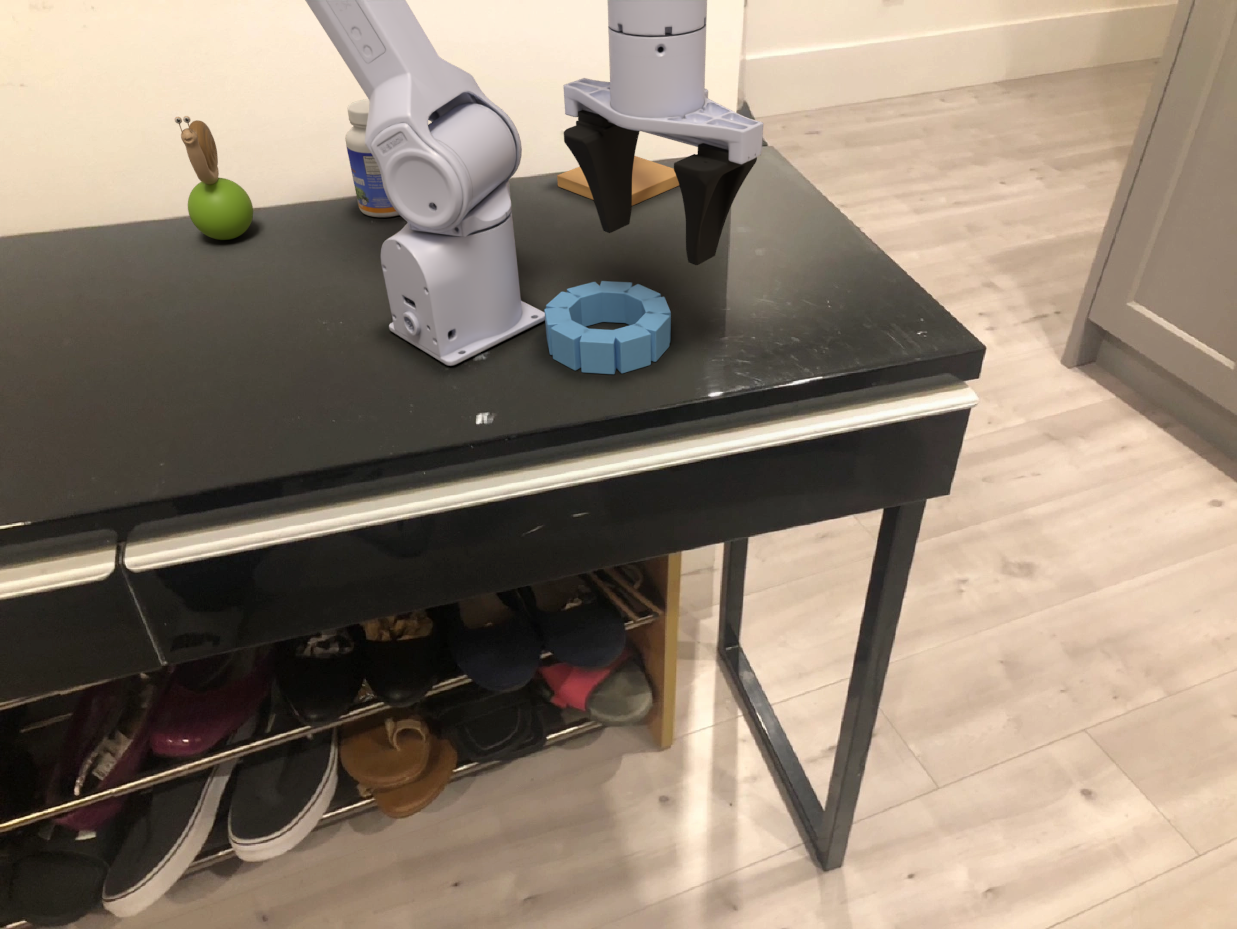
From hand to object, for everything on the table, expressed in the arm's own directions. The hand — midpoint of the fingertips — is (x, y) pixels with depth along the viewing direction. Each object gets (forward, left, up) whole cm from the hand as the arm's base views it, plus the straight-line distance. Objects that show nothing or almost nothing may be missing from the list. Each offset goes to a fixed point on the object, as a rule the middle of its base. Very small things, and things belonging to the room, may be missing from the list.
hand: (657, 242), depth 62 cm
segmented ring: (-1, +4, -9) cm, 9 cm away
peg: (+21, +24, -9) cm, 33 cm away
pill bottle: (+2, +37, -9) cm, 38 cm away
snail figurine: (-12, +42, -9) cm, 45 cm away
